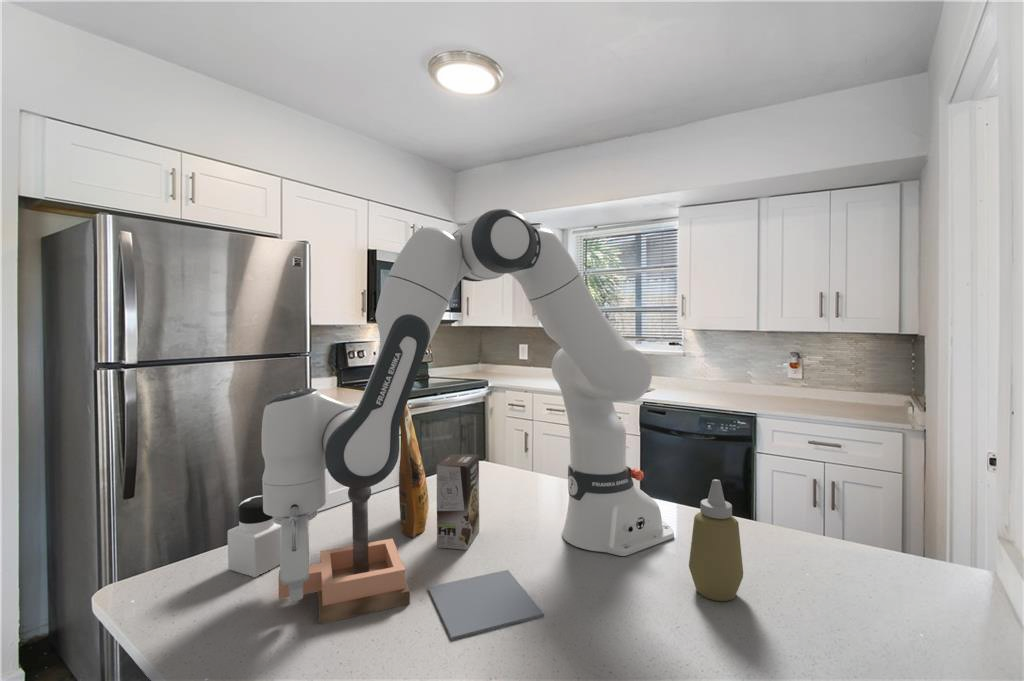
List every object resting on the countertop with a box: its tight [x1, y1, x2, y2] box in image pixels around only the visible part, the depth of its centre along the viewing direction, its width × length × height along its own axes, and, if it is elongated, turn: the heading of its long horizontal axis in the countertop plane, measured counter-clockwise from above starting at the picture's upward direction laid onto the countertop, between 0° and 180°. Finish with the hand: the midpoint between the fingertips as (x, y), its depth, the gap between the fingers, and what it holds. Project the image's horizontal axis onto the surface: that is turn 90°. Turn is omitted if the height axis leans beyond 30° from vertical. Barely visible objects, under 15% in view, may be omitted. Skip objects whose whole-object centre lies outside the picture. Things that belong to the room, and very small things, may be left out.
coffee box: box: [436, 453, 480, 551], centre depth 98 cm, size 9×6×16 cm
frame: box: [277, 538, 406, 606], centre depth 79 cm, size 18×12×3 cm, turn 113°
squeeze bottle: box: [688, 479, 744, 602], centre depth 78 cm, size 8×8×18 cm
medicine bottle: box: [226, 495, 281, 578], centre depth 88 cm, size 7×7×12 cm
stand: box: [317, 486, 411, 625], centre depth 80 cm, size 13×14×18 cm
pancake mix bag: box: [398, 403, 430, 538], centre depth 107 cm, size 7×19×28 cm, turn 6°
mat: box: [427, 569, 545, 641], centre depth 76 cm, size 14×14×1 cm
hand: (296, 584), depth 76 cm, fingers open, 7 cm apart
